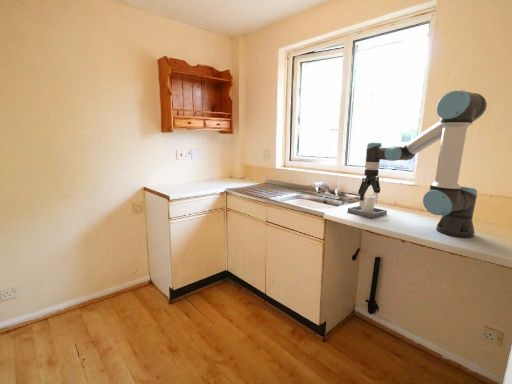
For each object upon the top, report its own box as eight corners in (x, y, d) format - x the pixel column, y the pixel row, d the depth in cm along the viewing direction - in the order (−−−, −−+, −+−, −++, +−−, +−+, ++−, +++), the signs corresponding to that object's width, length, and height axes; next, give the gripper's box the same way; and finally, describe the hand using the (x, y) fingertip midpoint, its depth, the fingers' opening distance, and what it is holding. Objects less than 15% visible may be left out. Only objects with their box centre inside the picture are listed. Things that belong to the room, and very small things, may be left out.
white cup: (375, 214, 162) (377, 198, 160) (361, 213, 164) (362, 197, 162) (372, 211, 170) (374, 195, 168) (358, 210, 171) (360, 194, 169)
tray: (386, 214, 166) (387, 210, 165) (371, 218, 156) (372, 214, 156) (362, 208, 178) (362, 204, 178) (347, 212, 169) (347, 208, 168)
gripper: (377, 167, 172) (373, 201, 176) (353, 169, 158) (350, 205, 161) (388, 168, 167) (385, 203, 170) (365, 170, 152) (362, 208, 156)
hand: (368, 204), depth 166 cm, fingers open, 13 cm apart
